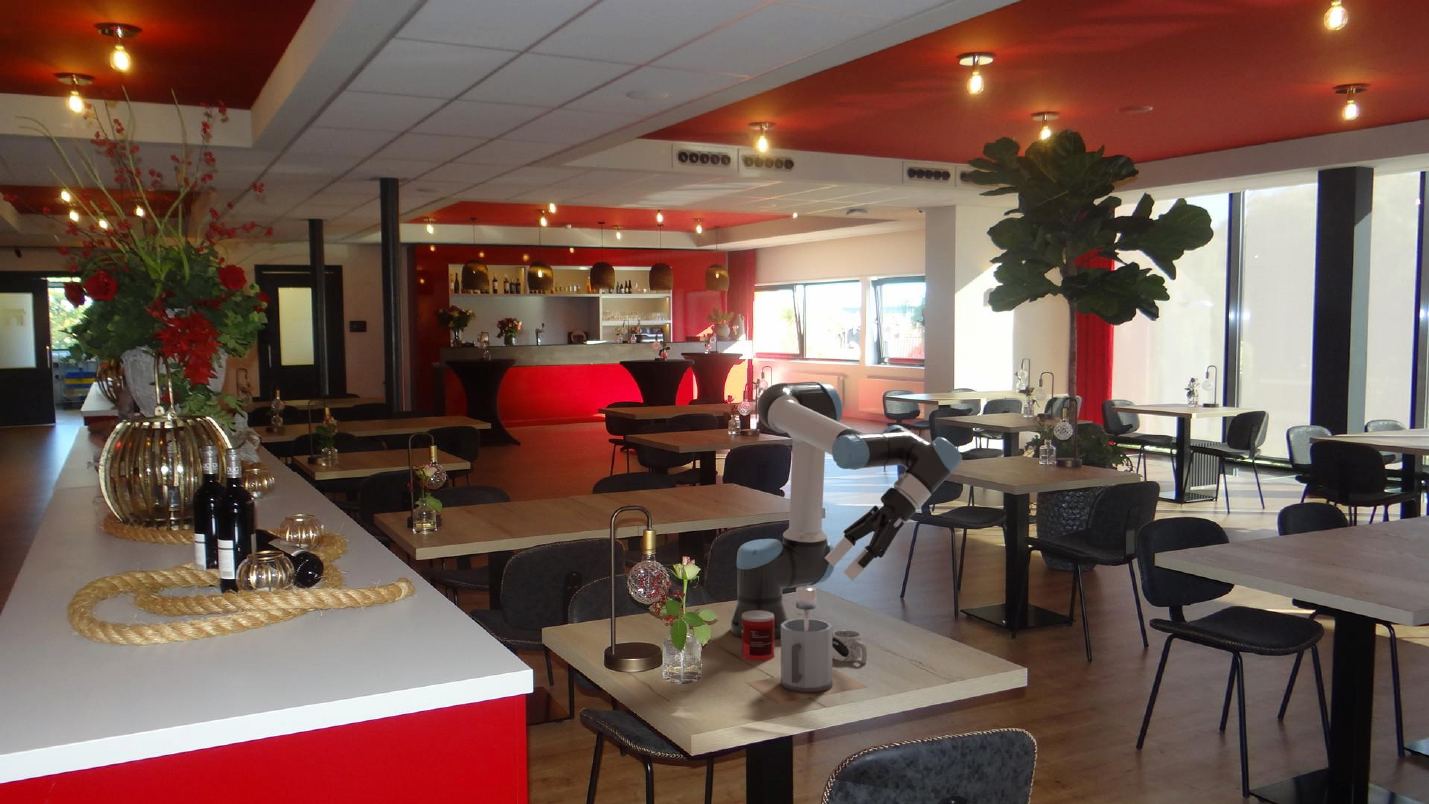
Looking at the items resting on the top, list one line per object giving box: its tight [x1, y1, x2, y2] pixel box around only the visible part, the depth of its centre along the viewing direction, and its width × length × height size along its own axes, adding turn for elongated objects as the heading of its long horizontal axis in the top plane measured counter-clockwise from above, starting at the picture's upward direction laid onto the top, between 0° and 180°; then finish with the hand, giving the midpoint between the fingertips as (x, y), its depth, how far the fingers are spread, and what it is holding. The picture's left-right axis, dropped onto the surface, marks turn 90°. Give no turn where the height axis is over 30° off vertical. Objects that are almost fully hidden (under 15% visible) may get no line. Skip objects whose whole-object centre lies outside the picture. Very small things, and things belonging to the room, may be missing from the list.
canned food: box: [741, 610, 775, 662], centre depth 236 cm, size 8×8×11 cm
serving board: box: [746, 667, 868, 704], centre depth 215 cm, size 22×14×1 cm, turn 115°
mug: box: [832, 629, 868, 665], centre depth 233 cm, size 10×7×7 cm, turn 34°
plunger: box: [795, 585, 818, 632], centre depth 215 cm, size 8×8×18 cm
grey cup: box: [780, 617, 833, 694], centre depth 214 cm, size 11×14×13 cm
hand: (838, 569), depth 216 cm, fingers open, 13 cm apart
